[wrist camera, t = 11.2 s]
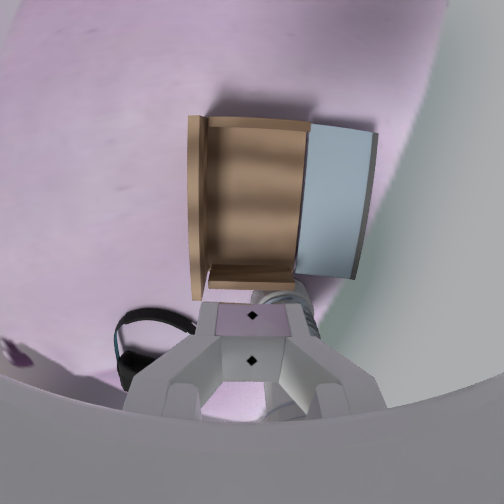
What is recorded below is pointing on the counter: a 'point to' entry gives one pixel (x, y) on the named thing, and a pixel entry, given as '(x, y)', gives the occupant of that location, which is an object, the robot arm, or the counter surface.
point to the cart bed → (244, 201)
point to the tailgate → (335, 200)
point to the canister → (276, 397)
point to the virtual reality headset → (135, 363)
